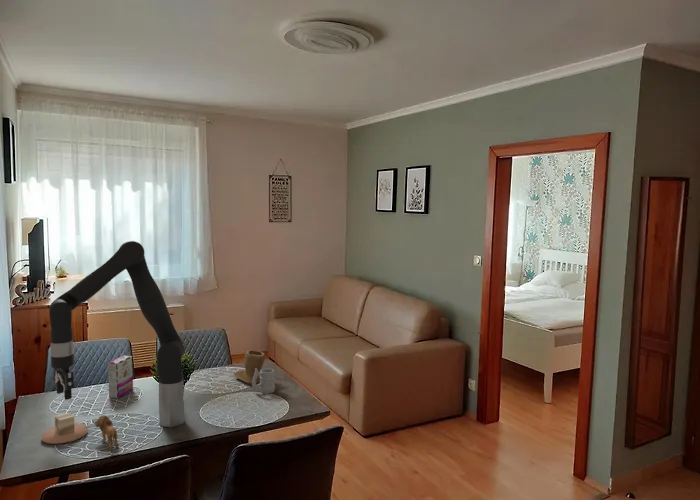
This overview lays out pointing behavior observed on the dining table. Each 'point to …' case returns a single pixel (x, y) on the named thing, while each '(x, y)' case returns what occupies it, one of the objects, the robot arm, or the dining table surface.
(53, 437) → the dish
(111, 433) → the lion figurine
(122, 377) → the candy bar box
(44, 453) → the dining table surface
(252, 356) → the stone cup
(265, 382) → the mug
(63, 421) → the birch block
